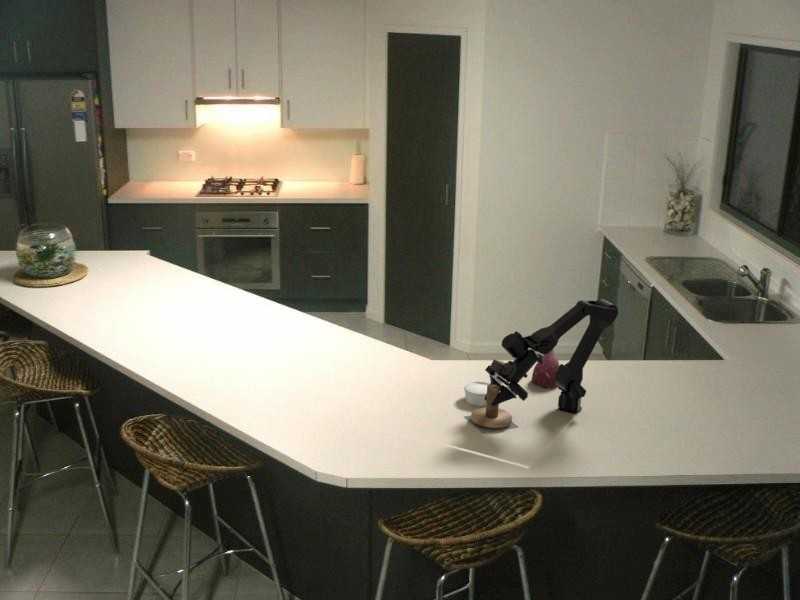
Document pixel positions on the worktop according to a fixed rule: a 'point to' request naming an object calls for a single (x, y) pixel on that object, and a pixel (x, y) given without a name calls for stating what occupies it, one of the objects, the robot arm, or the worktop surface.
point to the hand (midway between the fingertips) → (488, 402)
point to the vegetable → (546, 371)
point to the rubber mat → (487, 430)
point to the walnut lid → (491, 411)
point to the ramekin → (476, 392)
